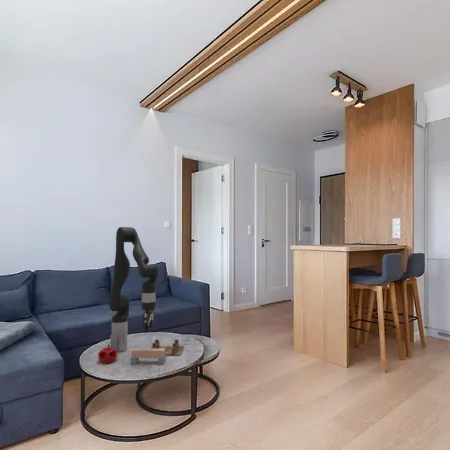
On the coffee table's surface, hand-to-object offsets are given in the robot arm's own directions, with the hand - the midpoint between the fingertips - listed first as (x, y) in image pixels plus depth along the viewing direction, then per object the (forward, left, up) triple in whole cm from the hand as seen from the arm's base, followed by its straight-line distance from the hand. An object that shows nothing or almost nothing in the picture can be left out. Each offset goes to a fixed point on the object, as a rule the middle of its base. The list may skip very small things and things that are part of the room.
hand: (148, 329), depth 187 cm
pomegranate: (-23, +1, -18) cm, 29 cm away
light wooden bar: (0, 0, -15) cm, 15 cm away
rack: (+6, +17, -18) cm, 25 cm away
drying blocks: (0, 0, -18) cm, 18 cm away
